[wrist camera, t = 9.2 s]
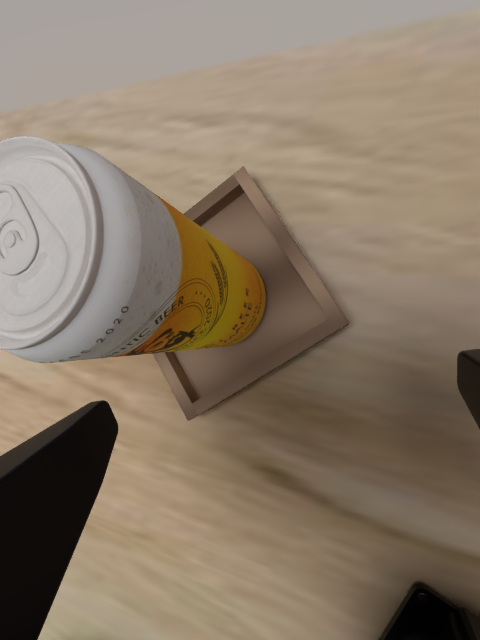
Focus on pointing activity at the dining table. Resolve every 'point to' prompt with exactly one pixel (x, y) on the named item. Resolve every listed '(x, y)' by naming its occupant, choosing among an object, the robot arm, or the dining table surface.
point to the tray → (280, 306)
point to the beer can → (109, 263)
